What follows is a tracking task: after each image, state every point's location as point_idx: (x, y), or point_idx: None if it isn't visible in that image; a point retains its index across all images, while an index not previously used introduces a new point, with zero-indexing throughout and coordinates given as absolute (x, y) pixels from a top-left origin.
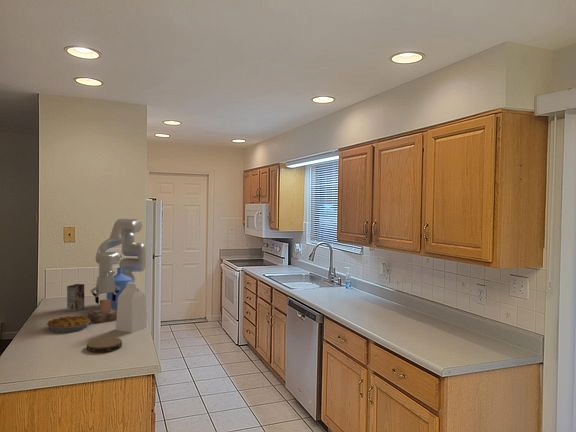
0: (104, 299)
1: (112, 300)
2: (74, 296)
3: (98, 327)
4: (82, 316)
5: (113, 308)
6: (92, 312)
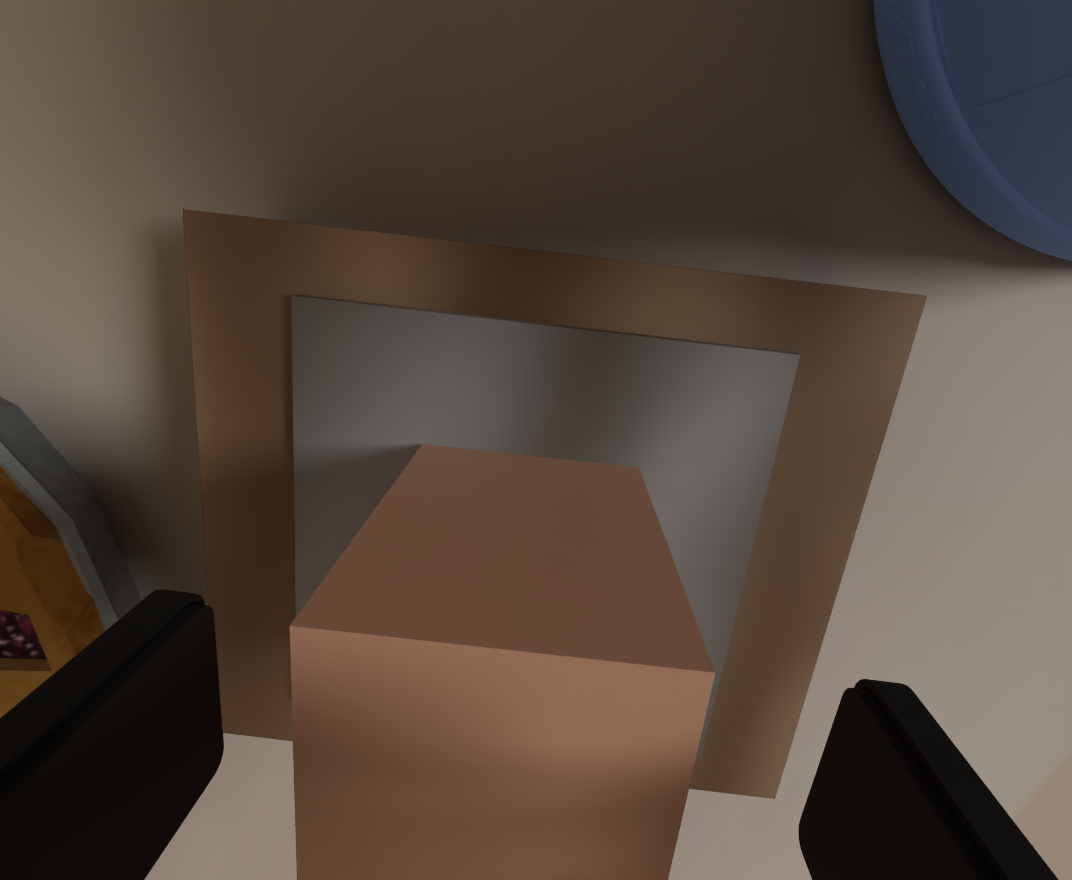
0: (512, 676)
1: (842, 701)
2: None
3: (264, 840)
4: (4, 539)
5: (877, 315)
6: (262, 375)
